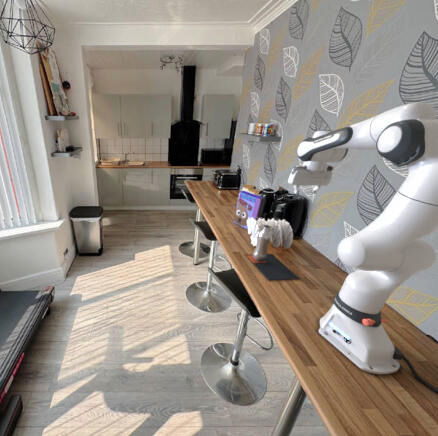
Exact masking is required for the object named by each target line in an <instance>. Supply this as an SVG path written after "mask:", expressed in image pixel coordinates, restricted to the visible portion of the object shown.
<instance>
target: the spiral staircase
mask: <svg viewBox="0 0 438 436" xmlns="http://www.w3.org/2000/svg"><path fill="white" fill-rule="evenodd" d="M246 222H247V226H248V230H247V234H248V235H250V237H249V238H250V240H251V242H250V244H251V245H252V247H256V245H257V237H258V233H259V232H260V231H261V230H263V229H262V228H263V226H264V225H268V226H271V231H270V233H271V235H272V238H271V240H270V242H269V244H270V243H271V247H274V249H277V248H279V247H280V246H281V247H283V249H284V250H287V249H290V248H291V246H292V245H293V239H294V232H293V231H294V230H293V228H292V226H291V223H290V222H288V221H287V220H286V218H284V219H282V220H281V219H278V220H276V219H275V217H272V218H271V219H270V218H267V220H266V218H262V217H261V218H259V219H258V221H256V220H255V219H254V217H252V218H250V217H249V218H248V219H247V221H246Z"/></svg>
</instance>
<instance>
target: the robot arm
mask: <svg viewBox="0 0 438 436" xmlns="http://www.w3.org/2000/svg"><path fill="white" fill-rule="evenodd" d="M349 149H352V150H353V149H354V150H366V151H367V150H376V152H377V153H378V155H379V156H381V157H382V158H383V159H385V160H387V161H389V162H390V163H391V164H392V165H393V166H395V167H397V168H401V167H405V166H406V167H407V169H408V173H407V176H406V177H405V179H404V181H403V182H402V184H401V185H400V187H399V188H398V189H397V191H396V193H395V194H394V196H393V197H392V198H391V200H390V201H389V203H388V204H387V206H386V207H384V210H382V212H381V213H380V215H378V217H377V218H375V219H374V220H373V221H372V222H371V223H369V224H368V225H366V226H365V227H364V228H363V229H361V230H359V231H358V232H356V233H354V234H352V235H350V236H347V237H344V238H343V239H341V241H339V243H338V245H337V248H336V254H337V257H338V259H339V261H340V262H341V264H343V265H344V266H345V267H348V268H351V269H353V270H354V269H355V271H352V272H350V273H349V274H348V275H347V276H346V277H345V280H344V281H343V284H342V286H341V288H340V290H339V291H337V292H336V294H335V296H334V299H333V304H332V305H331V307H330V308H329V309H328V311H327V312H326V313H325V314H324V315H323V316H322V317H321V318H320V319H319V328H318V333H319V335H321V337H323V338H324V339H325V340H326V341H328V342H329V343H330V344H331V345H332V346H333V347H335V348H336V349H337V350H338V351H339V352H340V353H341V354H343V356H345V357H346V358H348V360H349V361H350V362H352V363H353V364H355V366H356V367H358V368H359V369H360V370H362V371H364V372H367V373H370V374H374V375H389V374H394V373H396V372H398V371H399V369H400V366H401V364H400V362H399V361H402V360H403V361H404V362H405V363H406V364H407V366H408V368H409V370H410V372H411V373H412V374H413V377H415V378H416V379H417V380H418V381H419V382H421V383H422V384H423V385H425V386H426V387H428V388H429V389H431V390H432V391H433V392H436V393H437V394H438V388H436V387H435V386H434V385H432V384H431V383H429V382H428V381H426V380H425V379H424V378H422V377H421V376H420V375H419V373H417V371H416V369H415V368H414V366H413V364H412V362H410V360H409V359H408V358H407V357H406V356H405V354H404V353H403V352H402V351H401V350H400V349H399V348H398V347H397V346H396V345H395V344H394V343H393V342H392V339H390V337H389V334H388V333H387V332H386V330H385V329H384V327H383V324H382V323H387V321H388V320H389V319H388V318H382V309H383V308H384V305H386V302H387V301H388V299H389V298H390V296H392V294H393V293H394V292H395V291H396V290H397V289H398V288H399V287H400V286H402V285H403V284H404V283H405V282H406V281H408V280H409V279H410V278H412V277H414V276H415V275H417V274H419V273H421V272H423V271H425V270H428V269H430V268H432V267H433V266H434V265H435V263H436V261H437V254H436V250H435V249H434V247H433V246H432V245H430V243H428V242H427V241H425V240H422V239H421V238H422V237H426V236H428V235H430V234H432V233H434V232H436V230H437V229H438V119H437V112H436V109H435V108H434V107H433V105H431V104H430V103H427V102H424V101H415V102H409V103H407V104H402V105H398V106H396V107H394V108H393V107H392V108H391V109H388V110H386V111H383V112H381V113H379V114H377V115H374V116H372V117H370V118H367V119H364V120H362V121H359V122H356V123H354V124H350V125H348V126H345V127H342V128H339V129H335V130H332V129H331V130H330V129H320V130H317V131H315V132H314V133H313V135H312V137H309V136H308V137H306V138H304V139H303V140H302V141H301V142H299V144H298V146H297V148H296V155H297V157H298V159H299V160H300V161H301V162H302V165H296V166H294V167H293V168H292V170H291V172H290V173H289V176H288V179H287V183H288V184H289V185H291V186H293V189H294V190H293V194H295V195H299V194H300V189H299V187H300V186H314V188H313V189H311V190H310V194H311V195H315V194H317V191H319V190H320V189H321V187H322V186H325V187H326V186H328V185H329V184H330V182H331V180H332V177H333V172H334V170H335V166H333V165H331V164H333V163H339V162H341V161H342V160H344V159H345V158H346V157H347V155H348V152H349ZM328 163H331V164H328Z"/></svg>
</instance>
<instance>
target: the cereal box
mask: <svg viewBox="0 0 438 436" xmlns="http://www.w3.org/2000/svg"><path fill="white" fill-rule="evenodd" d="M265 204H266V197H263V196H260V195H257V194H256V193H255V194H254V193H251V192H249V191H246V190H241V191H239V193H238V198H237V203H236V207H235V212H234V217H233V221H232V222H233V224H236V225H237V226H239V227H241V228H243V229H245V230H247V231H248V226H247V222H246V221H247V219H248V218H249V217H250V218H252V217H254V219H255V220H256V221H258V219H259V218H261V219H262V214H263V212H264V211H263V210H264V207H265Z"/></svg>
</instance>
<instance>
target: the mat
mask: <svg viewBox="0 0 438 436" xmlns="http://www.w3.org/2000/svg"><path fill="white" fill-rule="evenodd" d="M245 256H246V257H247V259H248V260H250V262H251V263H252V264H253V265H254V266H255V267H256V268H257V269H258V270H259V271H260V273H261V274H262V275H263V276H264V277H265V278H266V279H267V280H268V281H289V280H290V281H291V280H300V277H299V276H298V275H296V274H295V273H294V272H293V271H292V270H291V269H290V268H289V267H287V265H285V264H284V263H283V262H282V261H281V260H280V259H279V258H278V257H276V256H275V255H274V254H273V253H266V259H265V260H264V261H263V262H259V261H256V260H254V259H253V254H245Z"/></svg>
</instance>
